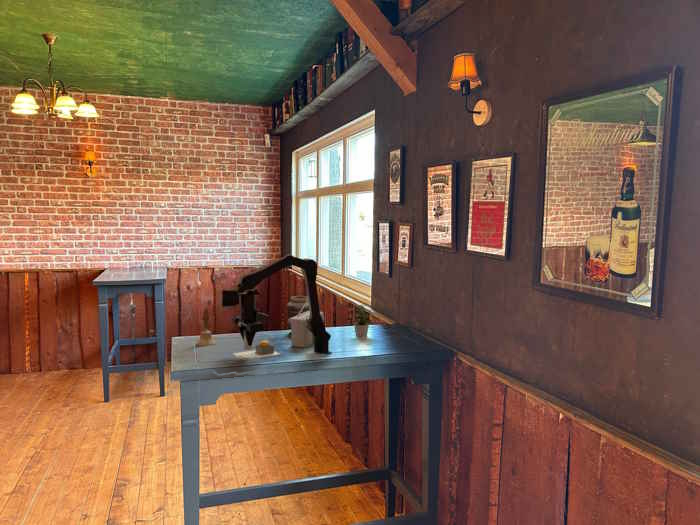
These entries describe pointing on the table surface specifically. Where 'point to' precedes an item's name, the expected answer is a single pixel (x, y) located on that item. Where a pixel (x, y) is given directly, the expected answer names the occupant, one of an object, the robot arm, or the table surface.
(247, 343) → the sage marker
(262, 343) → the button
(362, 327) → the house plant
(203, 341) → the hand bell
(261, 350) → the button housing
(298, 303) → the apothecary jar
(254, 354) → the board
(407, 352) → the table surface
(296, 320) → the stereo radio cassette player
